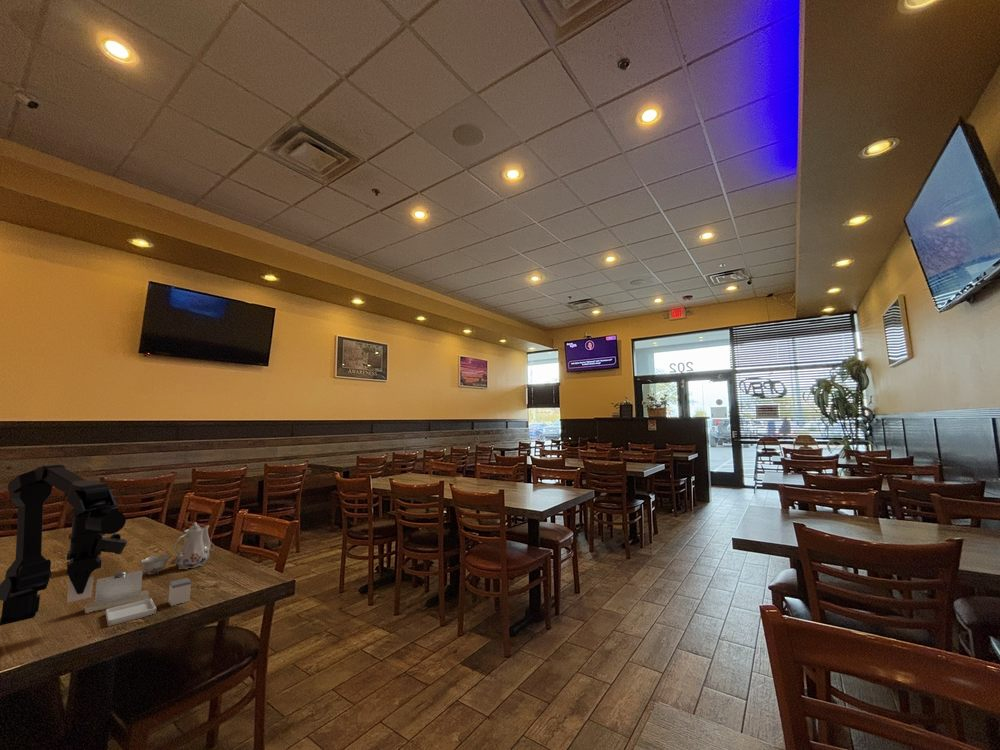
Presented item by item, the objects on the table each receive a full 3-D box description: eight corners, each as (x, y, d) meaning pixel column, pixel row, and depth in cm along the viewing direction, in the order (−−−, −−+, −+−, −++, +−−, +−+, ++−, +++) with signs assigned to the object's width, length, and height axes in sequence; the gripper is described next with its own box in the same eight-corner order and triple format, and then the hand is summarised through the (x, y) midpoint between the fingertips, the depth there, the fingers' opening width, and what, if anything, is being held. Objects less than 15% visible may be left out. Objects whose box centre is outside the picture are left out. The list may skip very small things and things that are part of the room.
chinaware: (196, 557, 171) (195, 516, 173) (233, 553, 169) (232, 512, 171) (130, 583, 143) (130, 534, 145) (174, 579, 142) (173, 530, 144)
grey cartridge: (170, 606, 121) (172, 585, 122) (168, 602, 124) (170, 581, 125) (189, 601, 125) (191, 581, 125) (186, 597, 128) (188, 577, 128)
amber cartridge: (67, 602, 106) (69, 578, 107) (67, 597, 109) (69, 574, 110) (91, 597, 110) (93, 573, 110) (90, 592, 113) (93, 569, 113)
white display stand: (85, 613, 117) (88, 581, 118) (84, 609, 120) (87, 577, 121) (148, 598, 127) (151, 568, 128) (146, 594, 130) (149, 565, 131)
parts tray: (108, 626, 109) (108, 620, 110) (105, 614, 116) (106, 609, 116) (156, 613, 117) (156, 608, 117) (151, 603, 124) (151, 598, 124)
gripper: (129, 531, 111) (123, 591, 109) (123, 520, 124) (117, 574, 122) (70, 540, 103) (63, 605, 101) (69, 527, 115) (63, 585, 114)
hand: (80, 591), depth 110 cm, fingers closed on amber cartridge, 4 cm apart
